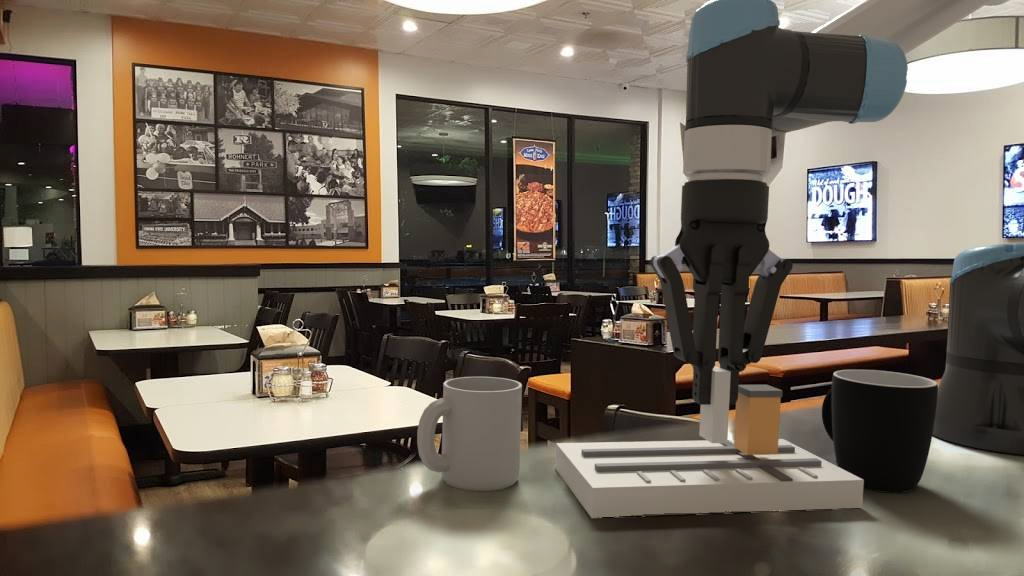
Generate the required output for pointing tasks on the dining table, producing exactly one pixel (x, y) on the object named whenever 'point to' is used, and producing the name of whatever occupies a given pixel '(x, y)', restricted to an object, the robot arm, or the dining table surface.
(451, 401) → the cup
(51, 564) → the dining table surface
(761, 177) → the robot arm
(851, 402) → the mug
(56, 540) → the dining table surface
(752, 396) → the fader cap
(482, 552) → the dining table surface
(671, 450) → the console
